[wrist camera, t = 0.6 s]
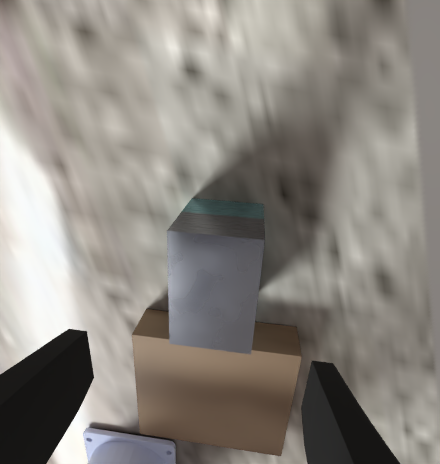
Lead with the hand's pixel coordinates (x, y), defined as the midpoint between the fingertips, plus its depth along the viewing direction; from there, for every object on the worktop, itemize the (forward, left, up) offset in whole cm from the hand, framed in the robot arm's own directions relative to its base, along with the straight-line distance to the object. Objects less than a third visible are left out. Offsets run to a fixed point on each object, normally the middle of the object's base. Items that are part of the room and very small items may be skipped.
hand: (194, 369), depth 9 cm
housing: (0, 0, -9) cm, 9 cm away
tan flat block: (-10, 0, -9) cm, 13 cm away
